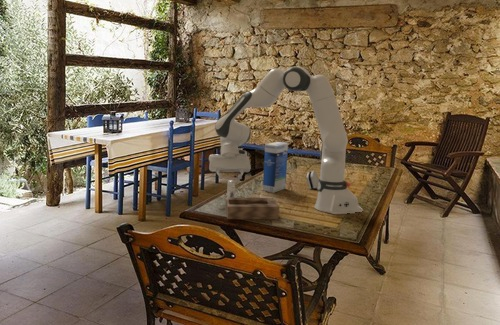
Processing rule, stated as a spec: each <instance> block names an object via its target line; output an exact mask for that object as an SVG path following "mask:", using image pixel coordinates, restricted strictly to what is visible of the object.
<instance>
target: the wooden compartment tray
mask: <svg viewBox="0 0 500 325" xmlns="http://www.w3.org/2000/svg"><path fill="white" fill-rule="evenodd" d="M224 201H225V202H224V210H225V214H226V219H227V220H279V213H280V205H279V204H278V203H277V202H276V200H275V199H274V197H235V198H227V197H225V199H224Z"/></svg>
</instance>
